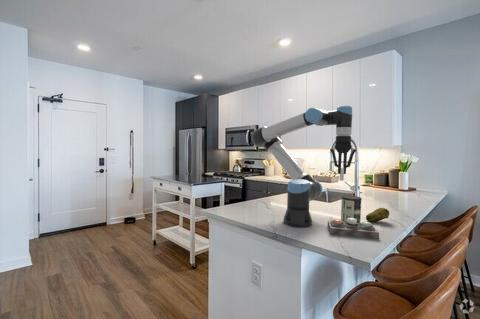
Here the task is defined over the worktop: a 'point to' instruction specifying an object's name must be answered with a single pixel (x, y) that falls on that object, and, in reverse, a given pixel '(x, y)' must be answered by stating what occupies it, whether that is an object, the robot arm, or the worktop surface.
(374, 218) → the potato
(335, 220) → the button terracotta
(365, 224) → the button sage
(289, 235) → the worktop surface
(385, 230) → the worktop surface
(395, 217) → the worktop surface
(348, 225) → the button board
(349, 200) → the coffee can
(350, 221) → the button cream
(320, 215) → the worktop surface
